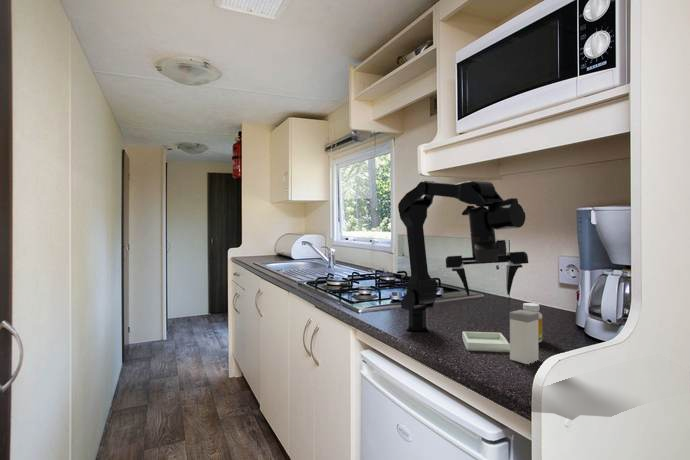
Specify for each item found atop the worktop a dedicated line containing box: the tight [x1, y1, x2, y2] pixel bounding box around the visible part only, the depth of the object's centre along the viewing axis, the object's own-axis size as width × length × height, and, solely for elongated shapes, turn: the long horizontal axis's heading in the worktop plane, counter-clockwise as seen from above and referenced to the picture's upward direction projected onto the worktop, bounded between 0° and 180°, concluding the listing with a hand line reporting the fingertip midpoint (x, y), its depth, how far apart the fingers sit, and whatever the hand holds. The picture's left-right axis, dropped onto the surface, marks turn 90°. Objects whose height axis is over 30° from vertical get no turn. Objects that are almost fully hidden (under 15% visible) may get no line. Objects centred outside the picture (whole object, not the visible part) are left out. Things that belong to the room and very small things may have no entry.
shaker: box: [509, 309, 539, 365], centre depth 93 cm, size 4×4×11 cm
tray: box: [461, 331, 510, 353], centre depth 104 cm, size 10×10×2 cm
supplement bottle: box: [522, 302, 543, 344], centre depth 108 cm, size 5×5×10 cm
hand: (488, 295), depth 98 cm, fingers open, 9 cm apart
